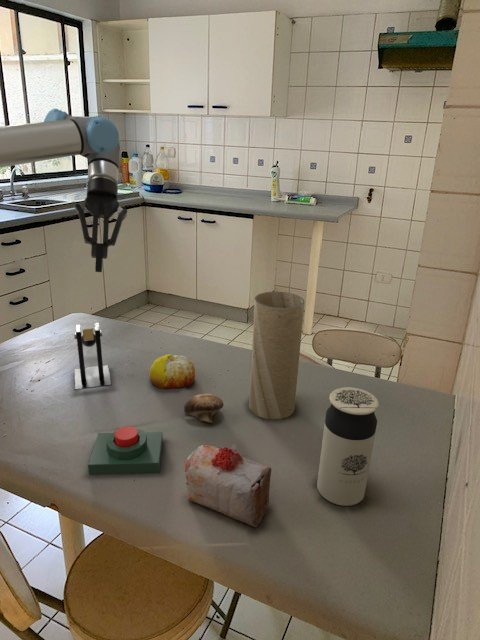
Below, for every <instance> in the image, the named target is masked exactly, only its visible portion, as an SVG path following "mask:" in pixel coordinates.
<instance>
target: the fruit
mask: <svg viewBox="0 0 480 640" xmlns="http://www.w3.org/2000/svg"><path fill="white" fill-rule="evenodd" d="M195 378H196V369H195V365H194V362H192V361H191V360H190V358H189V357H187V356H186V355H181V354H179V355H178V354H177V355H176V354H172V353H168V354H165V355H163V356H159V357H157V358H156V359H155V360H154V362H152V364H151V366H150V369H149V381H150V383H151V384H152V385H153V386H155V387H157V388H158V389H163V390H165V389H180V388H183V387H185V388H188V387H189V386H191V385H192V384H193V383H194V382H195Z"/></svg>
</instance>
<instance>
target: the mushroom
mask: <svg viewBox="0 0 480 640" xmlns="http://www.w3.org/2000/svg"><path fill="white" fill-rule="evenodd" d="M223 407H224V400H223V399H222V398H221V397H220V396H218V395H216V394H214V393H200V394H196V395H193V396H191V397H190V398H188V399H187V400H186V402H185V404H184V406H183V410H184V413H185V414H186V415H187V416H188V415H189V416H193V417H196V418H197V420H198V421H200V422H204V423H208V424H214V422H213V416H214V414H215V413H216V412H218V411H220V410H222V409H223Z"/></svg>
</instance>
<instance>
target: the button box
mask: <svg viewBox="0 0 480 640" xmlns="http://www.w3.org/2000/svg"><path fill="white" fill-rule="evenodd" d="M135 428H136V429H137V431H138V442H137V443H136V444H135V445H133V446H130V447H119V446H117V445H116V443H115V432H116V431H117V430H118V429H116V430H114V431H113V432H98V433H97V436H96V439H95V442H94V445H93V449H92V452H91V455H90V458H89V461H88V464H87V467H88V468H87V469H88V475H89V476H93V475H95V476H96V475H125V474H159V473H160V468H161V461H162V452H163V451H162V450H163V441H164V438H163V437H164V436H163V435H164V434H163V431H143V430H142V429H140V428H137V427H135Z"/></svg>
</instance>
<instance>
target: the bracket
mask: <svg viewBox="0 0 480 640" xmlns="http://www.w3.org/2000/svg"><path fill="white" fill-rule="evenodd" d="M93 325H94V326H93V327H94V335H95V338H96V343H95V349H96V359H97V365H96V366H88V367H86V366H85V365H86V363H85V355H84V345H83V344H82V336H83V334H82V327H81V326H82V325H81V324H75V332H74V333H73V336H74V340H76V345H77V354H78V355H77V356H78V363H79V367H78V368H74V370H73V373H74V376H73V377H74V391H77V390H85V389H93V388H100V387H107V386H108V387H109V386H112V378H111V373H110V366H109V364H105V365H103V363H104V362H103V352H102V341H101V337H103V330H101V329H100V323H99V322H93Z"/></svg>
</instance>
